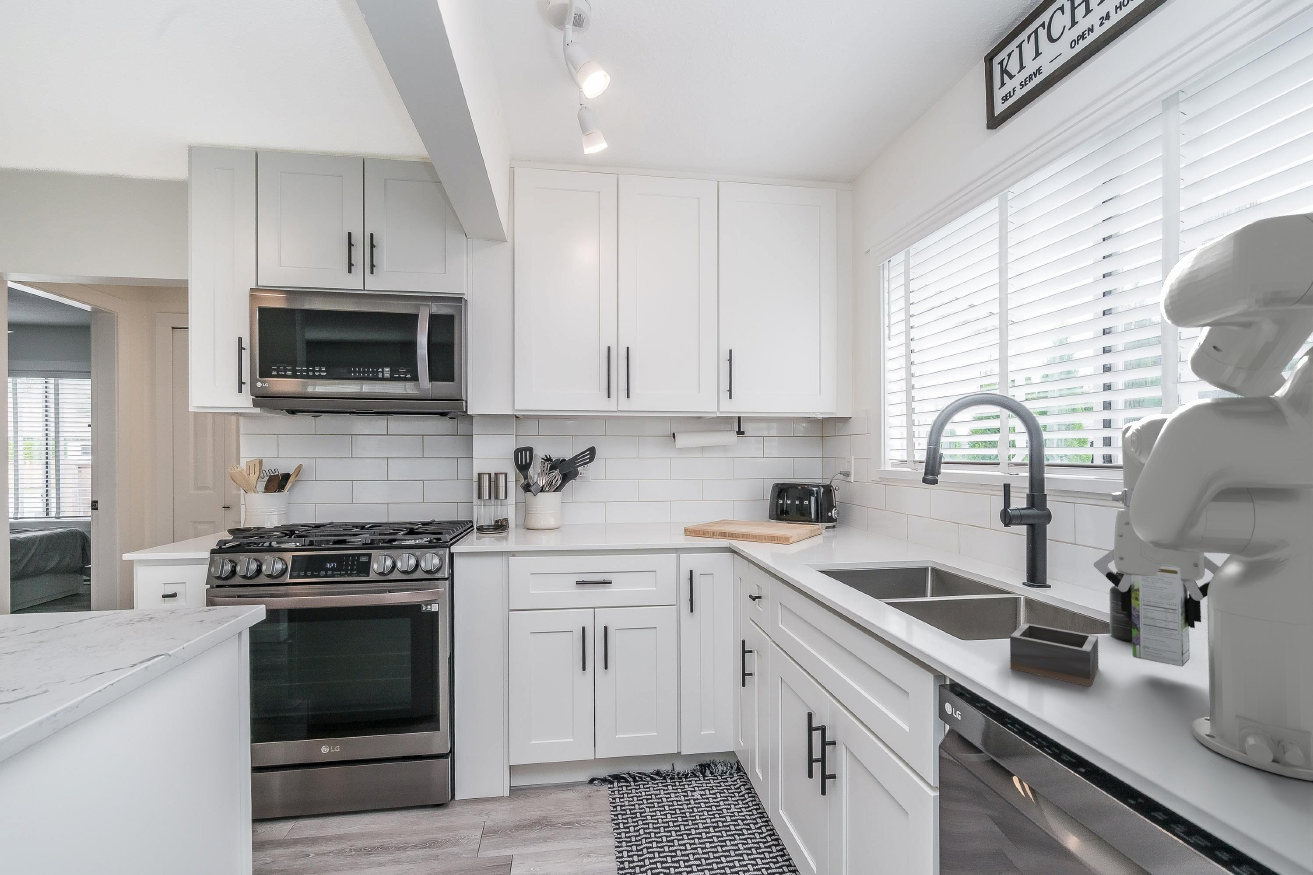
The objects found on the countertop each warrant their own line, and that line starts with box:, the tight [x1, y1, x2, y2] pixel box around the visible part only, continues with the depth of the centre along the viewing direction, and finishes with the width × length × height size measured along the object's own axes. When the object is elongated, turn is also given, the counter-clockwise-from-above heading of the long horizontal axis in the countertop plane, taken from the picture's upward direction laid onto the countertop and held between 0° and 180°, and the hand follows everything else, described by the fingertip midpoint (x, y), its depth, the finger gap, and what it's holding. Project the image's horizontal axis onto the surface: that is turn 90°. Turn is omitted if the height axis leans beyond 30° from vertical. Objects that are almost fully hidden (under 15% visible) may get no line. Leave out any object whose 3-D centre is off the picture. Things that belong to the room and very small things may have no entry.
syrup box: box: [1131, 563, 1190, 667], centre depth 86 cm, size 6×6×14 cm
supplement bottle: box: [1108, 570, 1132, 643], centre depth 104 cm, size 7×7×12 cm
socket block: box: [1009, 622, 1099, 687], centre depth 89 cm, size 10×10×5 cm
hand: (1160, 620), depth 86 cm, fingers closed on syrup box, 6 cm apart
